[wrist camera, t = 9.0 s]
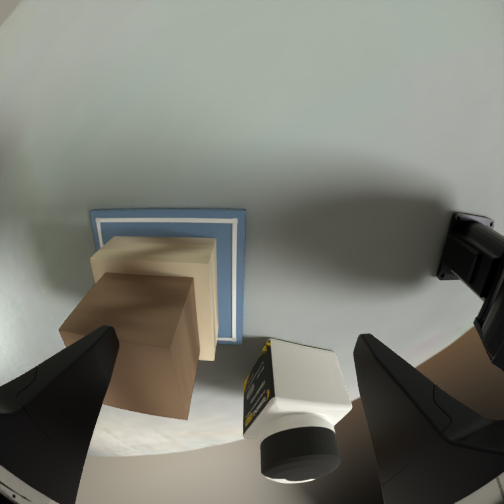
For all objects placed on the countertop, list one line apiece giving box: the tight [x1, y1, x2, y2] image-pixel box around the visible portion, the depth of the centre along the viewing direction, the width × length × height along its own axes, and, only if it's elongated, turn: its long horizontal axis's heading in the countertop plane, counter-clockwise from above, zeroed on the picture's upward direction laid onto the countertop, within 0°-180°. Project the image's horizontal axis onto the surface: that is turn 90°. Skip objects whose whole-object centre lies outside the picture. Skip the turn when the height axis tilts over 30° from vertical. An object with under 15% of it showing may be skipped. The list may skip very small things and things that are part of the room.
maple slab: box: [90, 236, 219, 361], centre depth 19 cm, size 8×8×4 cm
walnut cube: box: [59, 272, 200, 420], centre depth 14 cm, size 6×6×6 cm
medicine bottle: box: [243, 338, 352, 483], centre depth 20 cm, size 7×7×12 cm
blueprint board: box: [90, 208, 246, 345], centre depth 21 cm, size 12×12×1 cm
